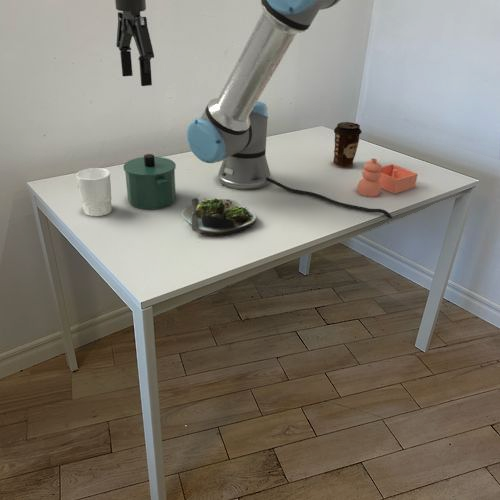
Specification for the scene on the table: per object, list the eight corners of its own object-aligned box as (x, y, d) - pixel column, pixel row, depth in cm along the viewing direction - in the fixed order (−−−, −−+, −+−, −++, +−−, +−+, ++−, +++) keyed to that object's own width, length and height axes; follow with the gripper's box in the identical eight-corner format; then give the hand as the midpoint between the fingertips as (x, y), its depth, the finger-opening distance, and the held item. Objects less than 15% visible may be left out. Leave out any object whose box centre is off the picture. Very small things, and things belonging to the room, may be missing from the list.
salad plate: (165, 210, 128) (164, 194, 126) (226, 197, 136) (226, 181, 134) (199, 243, 114) (199, 225, 112) (265, 226, 122) (266, 209, 120)
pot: (160, 183, 143) (158, 153, 139) (187, 207, 130) (186, 174, 126) (118, 192, 137) (114, 160, 133) (142, 217, 125) (140, 183, 120)
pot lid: (163, 157, 138) (162, 144, 136) (184, 173, 128) (183, 159, 126) (116, 165, 131) (115, 151, 129) (135, 183, 122) (133, 168, 120)
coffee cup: (361, 164, 163) (367, 124, 156) (351, 171, 157) (356, 130, 150) (336, 158, 167) (341, 119, 160) (325, 165, 161) (330, 125, 154)
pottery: (389, 176, 154) (395, 145, 149) (414, 187, 147) (421, 155, 142) (348, 189, 144) (352, 156, 140) (373, 200, 138) (379, 166, 133)
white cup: (76, 215, 124) (70, 178, 119) (90, 202, 131) (85, 166, 126) (106, 219, 123) (101, 181, 118) (118, 205, 130) (115, 169, 125)
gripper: (99, -10, 133) (107, 73, 144) (134, -3, 116) (141, 91, 126) (126, -10, 137) (132, 71, 148) (164, -4, 119) (168, 88, 130)
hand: (136, 80), depth 137 cm, fingers open, 13 cm apart
